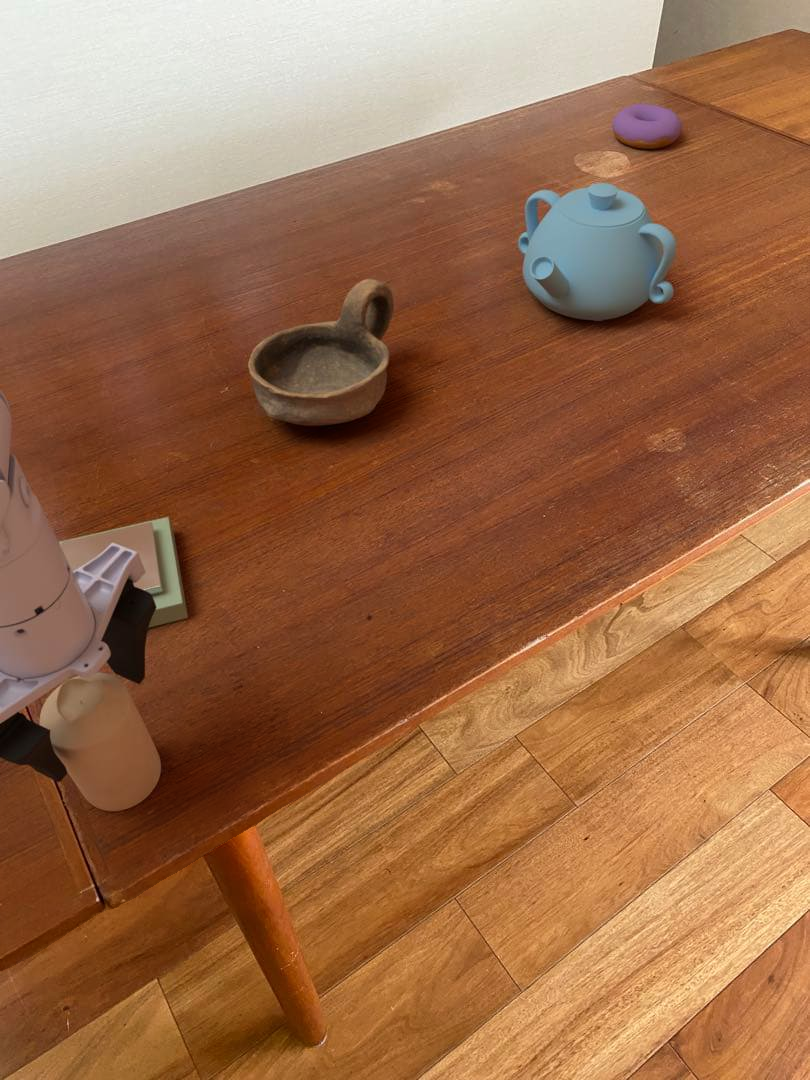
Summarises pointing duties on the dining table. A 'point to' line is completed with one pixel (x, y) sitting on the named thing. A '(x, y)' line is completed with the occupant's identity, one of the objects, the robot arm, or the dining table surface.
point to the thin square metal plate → (130, 537)
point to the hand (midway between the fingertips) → (92, 721)
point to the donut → (646, 126)
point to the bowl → (327, 363)
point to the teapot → (595, 253)
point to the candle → (102, 741)
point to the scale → (164, 575)
